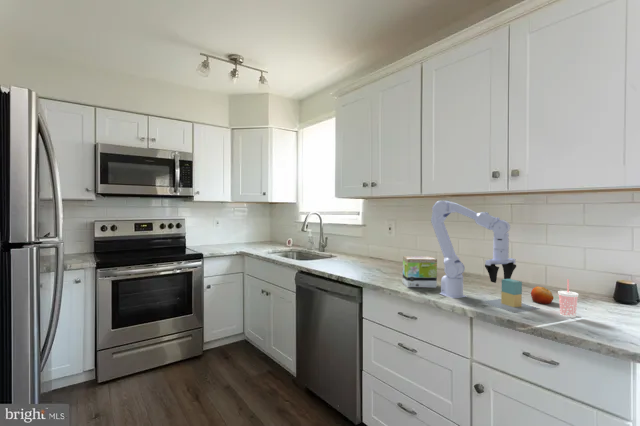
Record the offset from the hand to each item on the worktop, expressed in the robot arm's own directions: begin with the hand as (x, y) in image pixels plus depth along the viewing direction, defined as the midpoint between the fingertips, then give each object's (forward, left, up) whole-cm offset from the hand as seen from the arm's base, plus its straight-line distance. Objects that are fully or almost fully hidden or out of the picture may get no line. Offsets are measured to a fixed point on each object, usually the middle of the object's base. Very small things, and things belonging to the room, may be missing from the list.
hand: (500, 281), depth 139 cm
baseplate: (+4, +1, -10) cm, 10 cm away
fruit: (+6, +17, -10) cm, 20 cm away
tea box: (-39, -11, -10) cm, 42 cm away
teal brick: (+4, +2, -4) cm, 6 cm away
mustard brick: (+4, +2, -9) cm, 10 cm away
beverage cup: (+21, +10, -10) cm, 25 cm away
